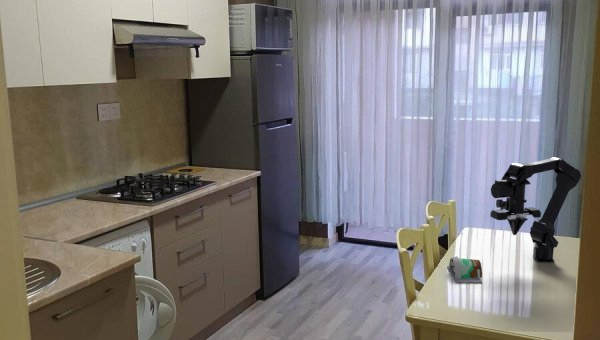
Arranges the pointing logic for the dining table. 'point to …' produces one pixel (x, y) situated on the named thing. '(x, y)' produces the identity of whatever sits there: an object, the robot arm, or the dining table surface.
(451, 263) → the food container
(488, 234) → the dining table surface
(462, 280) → the grey rubber mat
